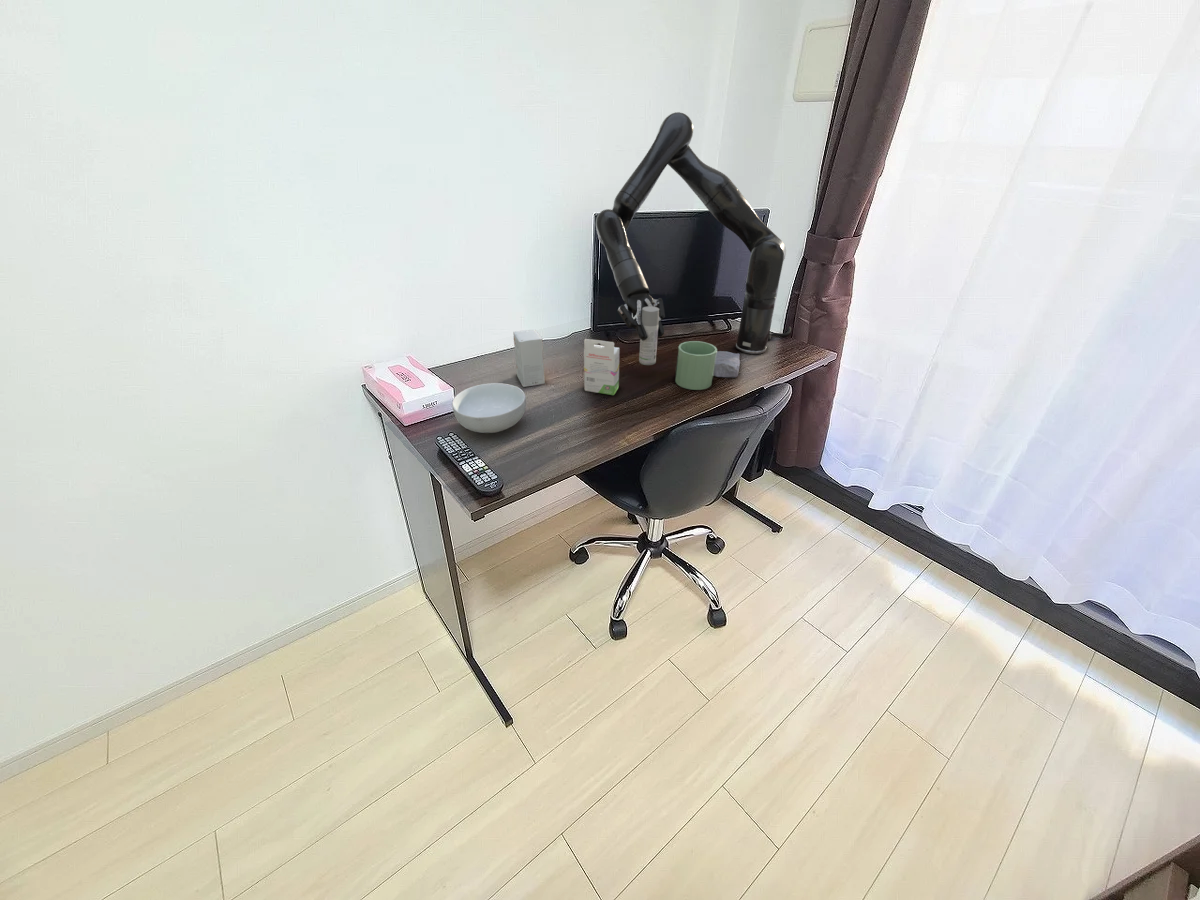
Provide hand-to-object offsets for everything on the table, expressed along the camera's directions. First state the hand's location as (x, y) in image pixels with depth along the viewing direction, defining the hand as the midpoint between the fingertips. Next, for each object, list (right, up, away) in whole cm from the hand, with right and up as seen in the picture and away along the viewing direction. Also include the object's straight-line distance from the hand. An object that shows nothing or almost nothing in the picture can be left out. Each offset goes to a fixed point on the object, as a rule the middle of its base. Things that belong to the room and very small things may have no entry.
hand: (653, 337), depth 134 cm
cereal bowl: (-40, -24, -15) cm, 49 cm away
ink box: (-14, -14, +1) cm, 20 cm away
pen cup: (+12, -11, +6) cm, 17 cm away
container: (-1, -6, +6) cm, 8 cm away
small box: (-34, -11, +6) cm, 36 cm away
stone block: (+21, -7, +13) cm, 26 cm away
